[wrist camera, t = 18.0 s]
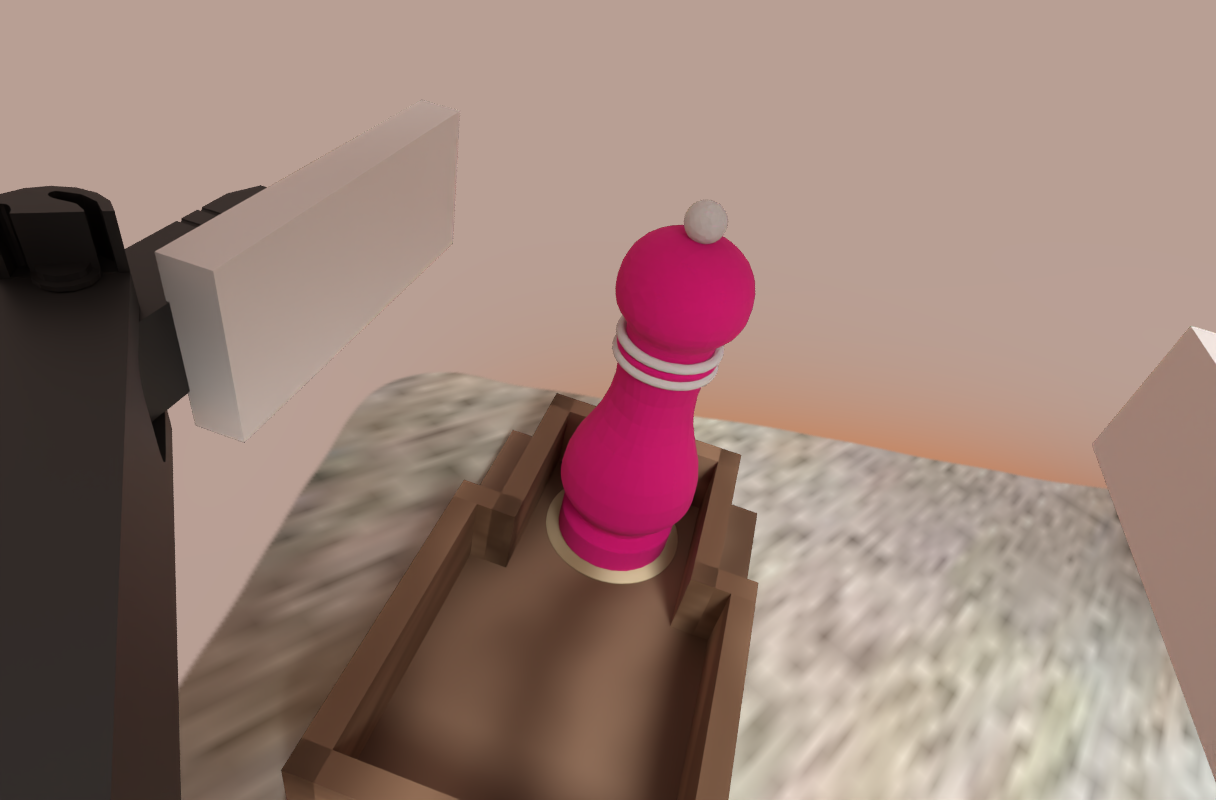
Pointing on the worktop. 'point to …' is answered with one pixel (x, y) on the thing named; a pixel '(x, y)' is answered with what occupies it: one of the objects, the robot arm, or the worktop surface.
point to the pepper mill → (654, 391)
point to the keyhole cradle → (545, 653)
